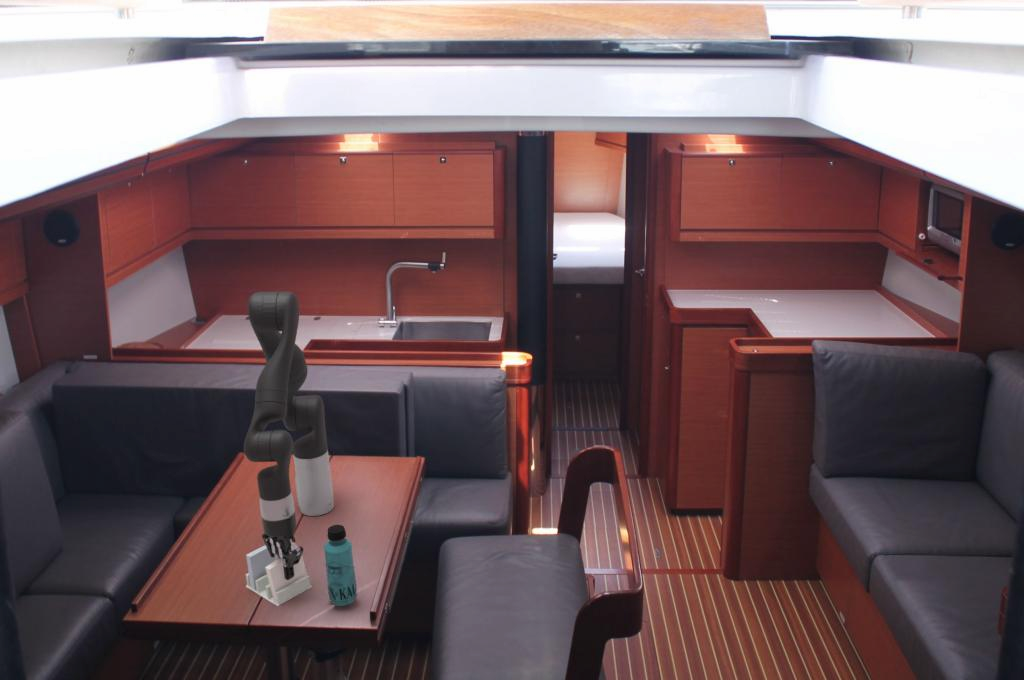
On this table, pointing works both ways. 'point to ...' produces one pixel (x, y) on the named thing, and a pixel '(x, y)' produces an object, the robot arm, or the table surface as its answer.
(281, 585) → the plate
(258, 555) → the plate
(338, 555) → the beverage bottle
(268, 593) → the rack
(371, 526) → the table surface
